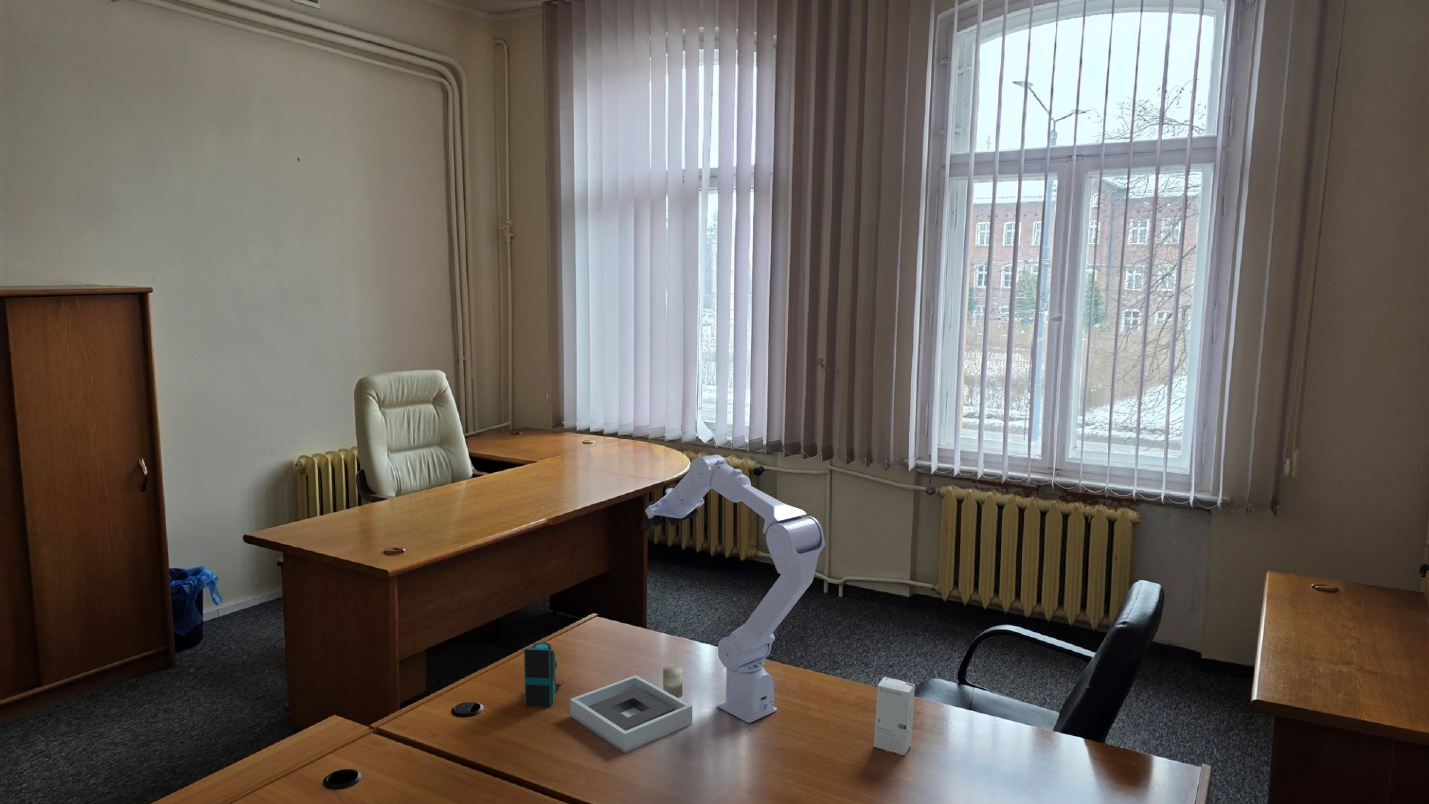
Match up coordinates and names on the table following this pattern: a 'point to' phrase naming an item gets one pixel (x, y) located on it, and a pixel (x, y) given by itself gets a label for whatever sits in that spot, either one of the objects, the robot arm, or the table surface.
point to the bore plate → (626, 701)
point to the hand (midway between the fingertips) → (657, 525)
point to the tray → (637, 734)
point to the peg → (672, 680)
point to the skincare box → (894, 715)
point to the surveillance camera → (540, 676)
